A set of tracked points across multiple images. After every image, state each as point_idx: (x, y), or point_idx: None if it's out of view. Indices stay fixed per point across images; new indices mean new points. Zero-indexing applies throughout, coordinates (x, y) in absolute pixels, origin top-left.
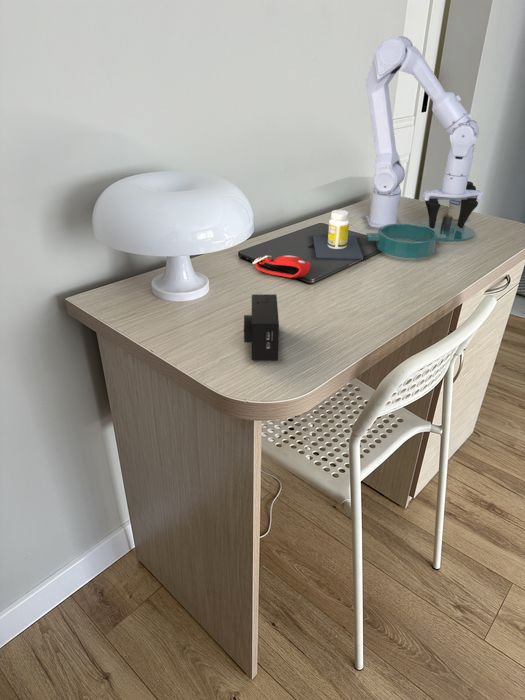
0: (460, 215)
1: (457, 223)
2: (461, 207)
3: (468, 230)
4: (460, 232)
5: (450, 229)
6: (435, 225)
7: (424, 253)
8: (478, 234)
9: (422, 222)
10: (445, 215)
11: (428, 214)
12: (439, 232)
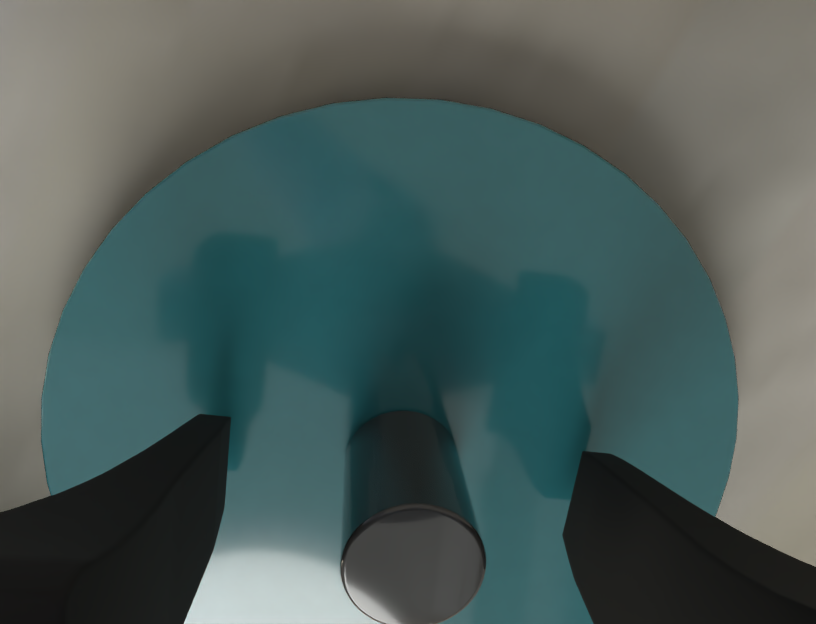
0: (642, 543)
1: (694, 270)
2: (712, 600)
3: None
4: (527, 563)
5: (469, 463)
6: (353, 300)
7: None
8: (754, 500)
9: (220, 146)
10: (402, 521)
11: (111, 472)
12: (284, 534)
